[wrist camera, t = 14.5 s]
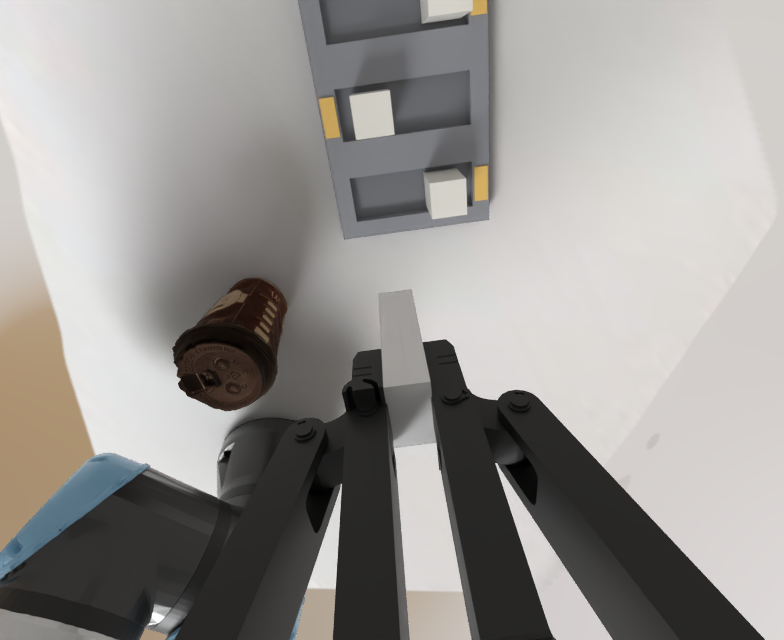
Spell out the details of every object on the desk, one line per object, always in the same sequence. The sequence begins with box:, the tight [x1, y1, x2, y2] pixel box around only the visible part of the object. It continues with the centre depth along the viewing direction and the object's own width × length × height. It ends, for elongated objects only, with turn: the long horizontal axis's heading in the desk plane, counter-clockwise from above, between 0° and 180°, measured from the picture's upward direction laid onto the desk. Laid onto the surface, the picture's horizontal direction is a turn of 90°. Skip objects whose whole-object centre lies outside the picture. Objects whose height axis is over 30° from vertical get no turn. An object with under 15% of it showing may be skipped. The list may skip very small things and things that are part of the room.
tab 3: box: [423, 168, 467, 219], centre depth 36 cm, size 3×3×4 cm
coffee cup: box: [172, 278, 287, 411], centre depth 39 cm, size 9×8×13 cm
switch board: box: [298, 0, 489, 239], centre depth 35 cm, size 14×21×2 cm, turn 7°
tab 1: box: [349, 89, 395, 140], centre depth 33 cm, size 3×3×4 cm
